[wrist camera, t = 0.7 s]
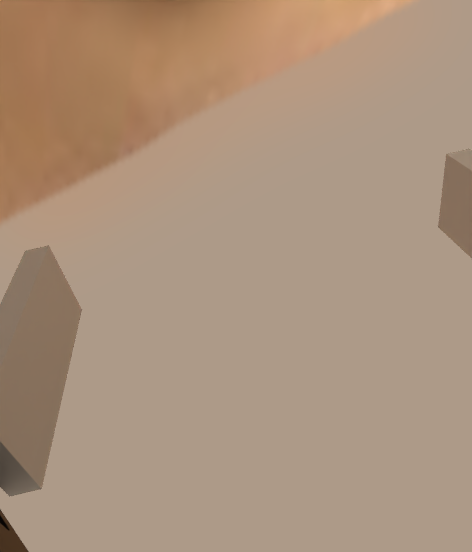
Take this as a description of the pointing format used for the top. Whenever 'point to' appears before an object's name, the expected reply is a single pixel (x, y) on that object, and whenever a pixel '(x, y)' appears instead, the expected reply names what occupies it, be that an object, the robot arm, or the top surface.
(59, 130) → the top surface
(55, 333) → the robot arm
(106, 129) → the top surface
